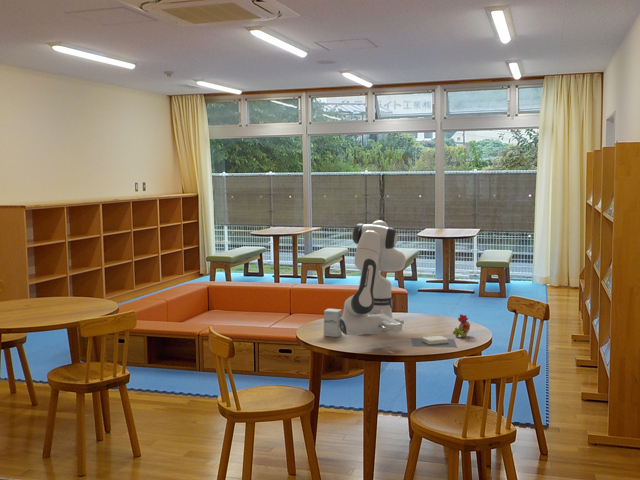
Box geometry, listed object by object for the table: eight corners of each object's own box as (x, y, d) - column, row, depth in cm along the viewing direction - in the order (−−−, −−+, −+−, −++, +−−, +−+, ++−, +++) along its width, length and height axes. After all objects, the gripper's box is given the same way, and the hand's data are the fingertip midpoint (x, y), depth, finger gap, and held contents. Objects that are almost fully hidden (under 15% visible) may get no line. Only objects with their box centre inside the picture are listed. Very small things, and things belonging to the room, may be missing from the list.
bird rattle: (459, 338, 327) (449, 333, 321) (465, 317, 329) (455, 312, 323) (470, 341, 322) (459, 336, 316) (476, 319, 324) (466, 314, 318)
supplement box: (323, 336, 322) (323, 310, 321) (328, 333, 329) (328, 308, 328) (337, 337, 319) (337, 311, 318) (342, 334, 326) (342, 309, 325)
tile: (428, 340, 303) (448, 339, 306) (421, 337, 309) (440, 335, 312) (428, 344, 303) (448, 343, 306) (421, 341, 309) (440, 339, 313)
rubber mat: (412, 347, 300) (412, 346, 300) (411, 339, 316) (411, 337, 316) (457, 348, 298) (457, 347, 298) (453, 340, 314) (453, 339, 314)
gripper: (384, 322, 288) (412, 319, 293) (366, 312, 308) (393, 310, 312) (384, 336, 289) (412, 333, 293) (366, 325, 308) (393, 323, 313)
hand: (402, 321), depth 303 cm, fingers closed
